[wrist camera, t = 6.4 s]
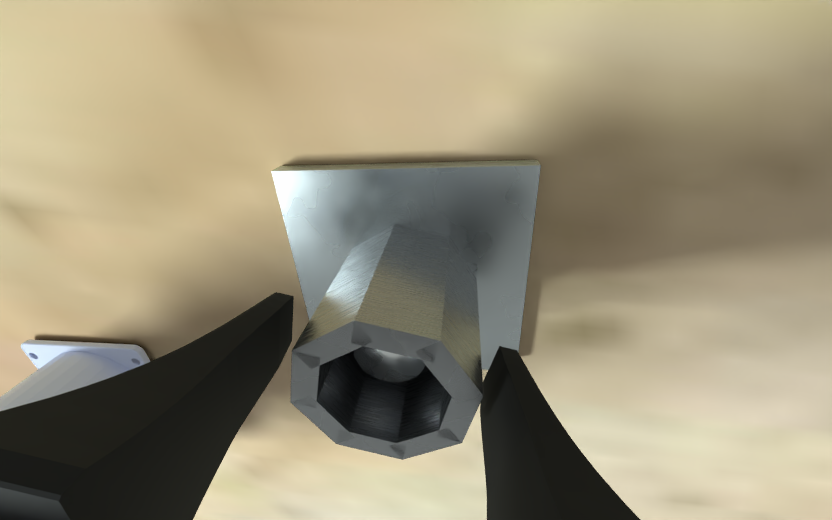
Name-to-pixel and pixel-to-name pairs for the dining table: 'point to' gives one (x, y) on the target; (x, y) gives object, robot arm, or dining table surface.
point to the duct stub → (423, 210)
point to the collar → (394, 347)
